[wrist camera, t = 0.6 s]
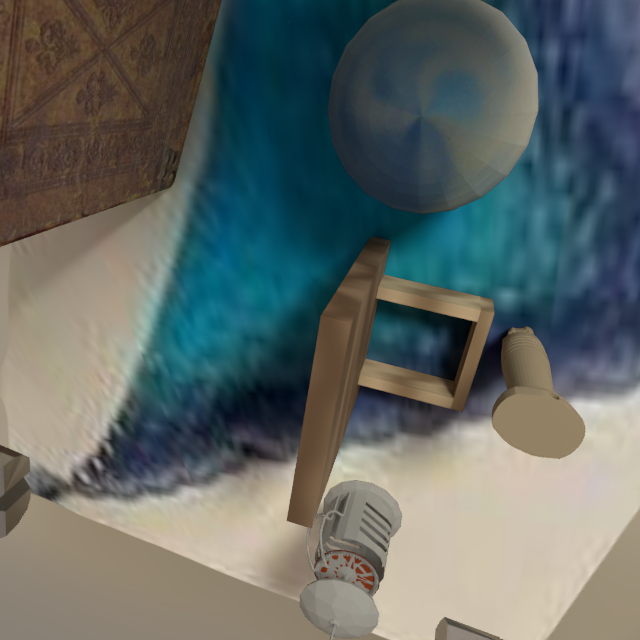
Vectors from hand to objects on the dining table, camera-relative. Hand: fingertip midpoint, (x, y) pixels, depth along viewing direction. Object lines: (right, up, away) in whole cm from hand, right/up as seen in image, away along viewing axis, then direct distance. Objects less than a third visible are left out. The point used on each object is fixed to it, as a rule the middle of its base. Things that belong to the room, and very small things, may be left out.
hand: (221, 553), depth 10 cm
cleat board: (+12, +3, +45) cm, 46 cm away
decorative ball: (+12, +23, +36) cm, 44 cm away
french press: (+7, -19, +56) cm, 59 cm away
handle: (+21, +2, +43) cm, 48 cm away
